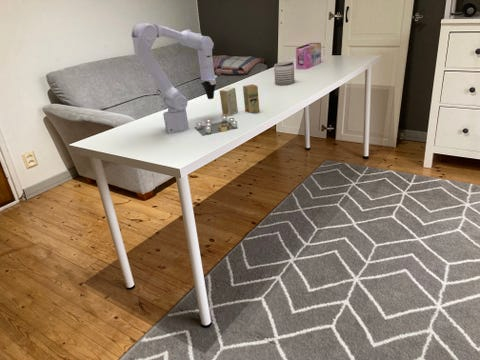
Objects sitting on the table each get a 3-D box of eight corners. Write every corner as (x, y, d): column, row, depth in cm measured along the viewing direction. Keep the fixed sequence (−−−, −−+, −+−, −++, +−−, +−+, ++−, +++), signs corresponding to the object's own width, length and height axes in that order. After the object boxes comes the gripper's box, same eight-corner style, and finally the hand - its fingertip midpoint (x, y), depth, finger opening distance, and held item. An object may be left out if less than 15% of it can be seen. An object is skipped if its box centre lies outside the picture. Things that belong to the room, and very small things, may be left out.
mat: (202, 137, 154) (202, 135, 153) (194, 129, 165) (194, 127, 164) (238, 130, 158) (238, 128, 158) (227, 122, 169) (227, 120, 169)
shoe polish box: (245, 112, 180) (242, 86, 175) (254, 110, 182) (252, 84, 177) (249, 114, 176) (247, 88, 171) (259, 112, 178) (257, 86, 173)
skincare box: (231, 113, 181) (228, 86, 176) (238, 114, 179) (235, 87, 174) (222, 116, 177) (218, 90, 172) (229, 118, 175) (226, 90, 169)
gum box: (305, 69, 257) (305, 48, 251) (294, 69, 262) (294, 48, 256) (321, 62, 274) (321, 42, 268) (311, 62, 279) (310, 42, 273)
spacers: (203, 135, 154) (202, 129, 152) (195, 127, 164) (194, 121, 163) (239, 127, 158) (239, 121, 157) (229, 120, 168) (229, 114, 167)
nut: (223, 132, 155) (222, 128, 154) (216, 129, 158) (216, 126, 158) (231, 129, 157) (230, 125, 156) (224, 127, 160) (224, 123, 160)
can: (285, 86, 219) (284, 64, 214) (270, 84, 227) (269, 63, 222) (298, 82, 225) (298, 61, 220) (284, 80, 233) (283, 60, 228)
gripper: (221, 67, 158) (225, 100, 163) (210, 62, 170) (214, 93, 176) (204, 69, 156) (208, 103, 161) (194, 65, 168) (199, 96, 174)
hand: (210, 98), depth 169 cm, fingers closed
